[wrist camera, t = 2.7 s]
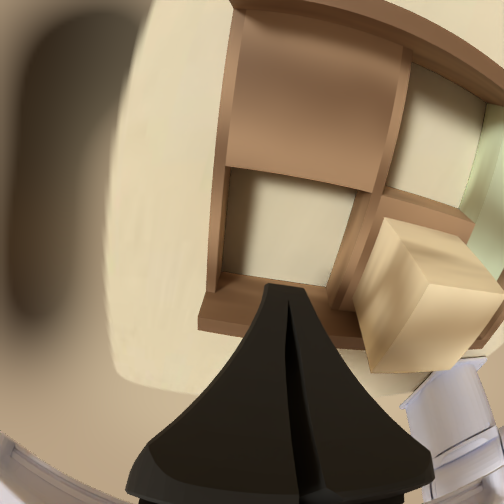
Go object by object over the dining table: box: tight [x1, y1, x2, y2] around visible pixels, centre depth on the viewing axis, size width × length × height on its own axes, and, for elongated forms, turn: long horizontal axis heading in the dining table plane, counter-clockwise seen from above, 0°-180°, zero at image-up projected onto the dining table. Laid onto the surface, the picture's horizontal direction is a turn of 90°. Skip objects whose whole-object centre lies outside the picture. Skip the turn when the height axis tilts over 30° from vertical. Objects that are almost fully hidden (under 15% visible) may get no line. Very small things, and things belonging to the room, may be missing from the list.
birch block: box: [352, 217, 504, 373], centre depth 11 cm, size 5×5×5 cm
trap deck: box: [198, 0, 504, 350], centre depth 11 cm, size 16×20×4 cm
